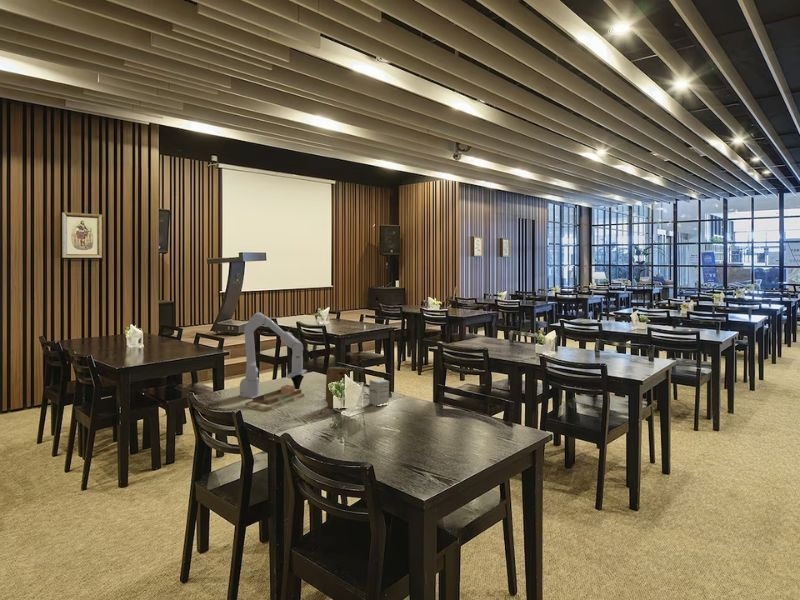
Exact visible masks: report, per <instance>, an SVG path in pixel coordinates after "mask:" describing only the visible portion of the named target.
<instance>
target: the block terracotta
mask: <svg viewBox="0 0 800 600" xmlns="http://www.w3.org/2000/svg"><path fill="white" fill-rule="evenodd" d="M280 389H281V395H285V394H288V393H291V392H294V391H296V389H295V386H294V385H289V384H285V385H283V386H280Z"/></svg>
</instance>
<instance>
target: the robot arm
mask: <svg viewBox="0 0 800 600" xmlns="http://www.w3.org/2000/svg"><path fill="white" fill-rule="evenodd" d="M262 325H263V327H265V328H269V329H271V330H272V331H273V332H274V333H276V335H278V336H279V337H280V341H281V342H282V343H283V344H285V345H286V346H287V347H288V348H291V350H292V355H291V372H289V373H287V376H286V377H287V379H291V381H292V383H293V386H295V390H299V389H300V388H301V385H302V381H303V379H304V377H305V376H304V375H306V374H307V373H308V370H307V369H303V368H304V367H303V365H304V364H303V363H304V362H303V361H304V357H303V356H304V355H303V354H304V353H303V351H304V345H303V343H302V341H300V340H299V339H298V338H296V337H295V336H294V335H293V333H292V332H290V331H284V330H283V329H282V328H281V327H280V326H279V325H277V323H276V322H275V321H273V320H272V319H271V318H270V317H268V316H267V315H265V314H263V312H260V311H258V312H256V313H254V314H253V315H252V316H250V318H249V320H248V321H247V323H246V324H245V326H244V329H243V331H244V345H245V358H246V369H245V373H244V376H245V378H242V379H241V380H240V383H239V395H238V397H241V396H242V397H241V398H246V397H247V399H253V398H255V397H258V396H261V395H263V394H262V393H260V377H258V376H259V368H258V367H257V362H256V349H255V335H254V334H255V333H254V332H255V331H256V330H257V329H258V328H259V327H261V326H262Z"/></svg>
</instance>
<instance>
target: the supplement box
mask: <svg viewBox="0 0 800 600" xmlns="http://www.w3.org/2000/svg"><path fill="white" fill-rule="evenodd" d="M368 387H369V388H368V389H369V392H368V395H369V396H368V404H369V405H371V404H373V405H372V406H374V405H380V404H384V403H387V402H388V403H389V398H390V397H389V394H390V381H389V380H386V379H384V378H374V379H373V378H372V379H369V386H368Z"/></svg>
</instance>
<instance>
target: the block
mask: <svg viewBox="0 0 800 600" xmlns="http://www.w3.org/2000/svg"><path fill="white" fill-rule="evenodd" d="M347 371H348V370H347V368H345V367H342V366H330V367H328V368H327V369H326V376H325V377H326V379H325V382H326V383H325V402H326V403H327V408H330V409H331V410H334V409H333V394H332V392H331V391H330V390H329V388H328V384H329V383H331V382H335V381H338V380H342V378H343V376H344V374H346V375H347V376H348V377H349V374H348V372H347Z"/></svg>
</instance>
